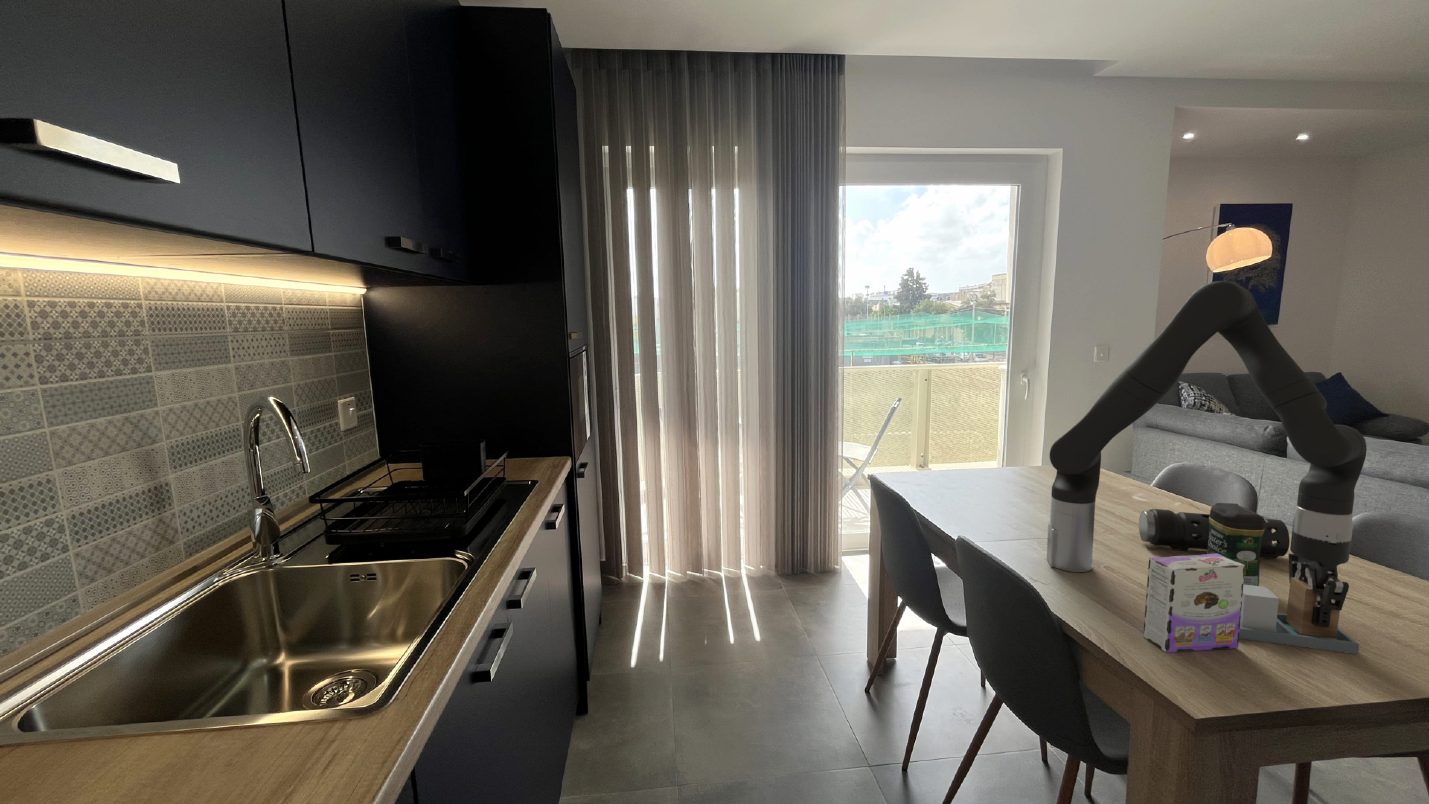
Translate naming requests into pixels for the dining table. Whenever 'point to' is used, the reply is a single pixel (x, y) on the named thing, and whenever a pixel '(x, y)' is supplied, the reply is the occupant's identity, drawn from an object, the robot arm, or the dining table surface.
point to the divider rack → (1281, 624)
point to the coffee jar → (1237, 537)
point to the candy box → (1193, 602)
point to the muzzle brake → (1202, 532)
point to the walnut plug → (1307, 611)
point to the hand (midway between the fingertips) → (1311, 618)
